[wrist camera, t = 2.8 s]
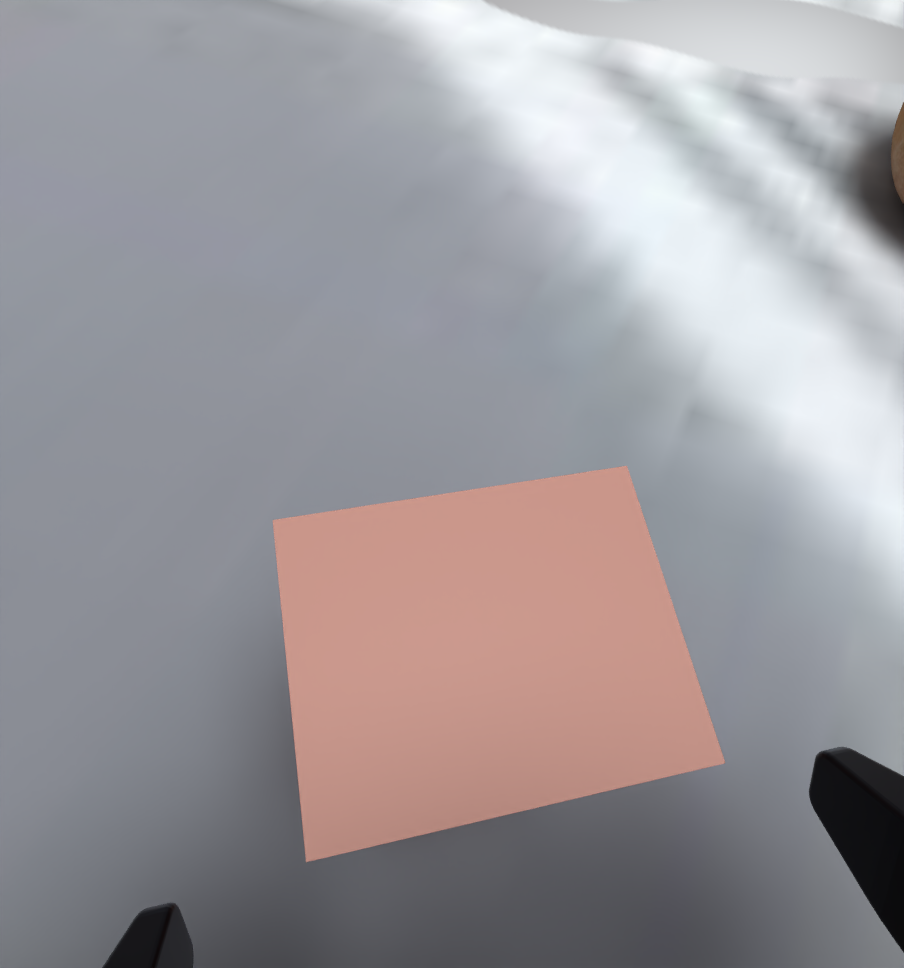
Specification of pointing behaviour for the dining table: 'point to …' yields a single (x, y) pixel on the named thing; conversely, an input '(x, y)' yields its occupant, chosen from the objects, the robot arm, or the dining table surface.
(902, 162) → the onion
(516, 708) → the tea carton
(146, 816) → the dining table surface
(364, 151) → the dining table surface
